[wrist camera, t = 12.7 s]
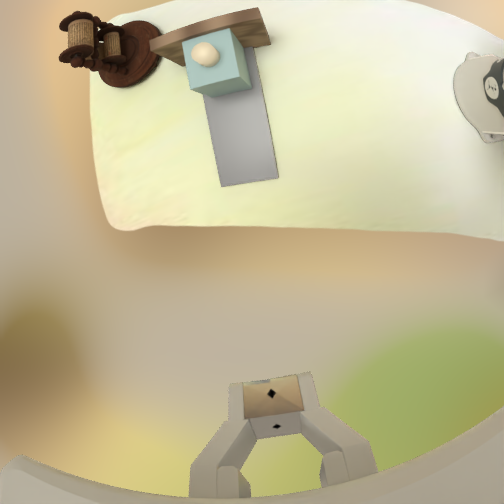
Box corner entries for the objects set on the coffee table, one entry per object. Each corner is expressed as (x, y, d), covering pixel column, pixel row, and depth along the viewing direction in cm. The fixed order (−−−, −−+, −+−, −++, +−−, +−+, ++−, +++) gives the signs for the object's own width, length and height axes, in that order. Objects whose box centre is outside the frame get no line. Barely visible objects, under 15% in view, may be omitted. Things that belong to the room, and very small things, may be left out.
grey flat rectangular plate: (253, 47, 37) (252, 46, 36) (278, 177, 46) (278, 178, 45) (198, 61, 39) (196, 60, 39) (222, 186, 48) (221, 187, 48)
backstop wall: (268, 35, 36) (258, 7, 25) (270, 44, 37) (261, 18, 26) (181, 57, 39) (149, 40, 29) (182, 66, 40) (150, 51, 29)
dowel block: (243, 47, 37) (223, 20, 25) (252, 88, 40) (234, 71, 28) (204, 57, 38) (173, 36, 27) (212, 97, 41) (181, 86, 30)
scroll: (102, 42, 39) (36, 25, 21) (161, 13, 35) (102, -24, 17) (108, 98, 44) (35, 96, 26) (170, 72, 41) (103, 50, 23)
